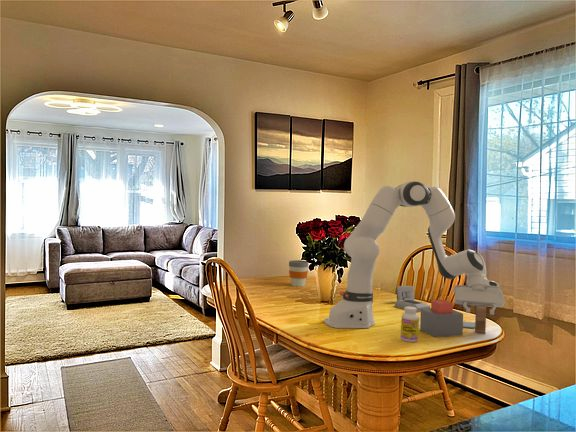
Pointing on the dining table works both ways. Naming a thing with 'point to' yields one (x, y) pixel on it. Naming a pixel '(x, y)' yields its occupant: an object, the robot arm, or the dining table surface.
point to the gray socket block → (441, 323)
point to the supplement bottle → (410, 325)
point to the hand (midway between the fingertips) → (480, 313)
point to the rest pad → (469, 325)
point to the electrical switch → (405, 293)
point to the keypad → (411, 304)
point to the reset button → (441, 306)
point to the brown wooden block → (480, 319)
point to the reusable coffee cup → (298, 272)
